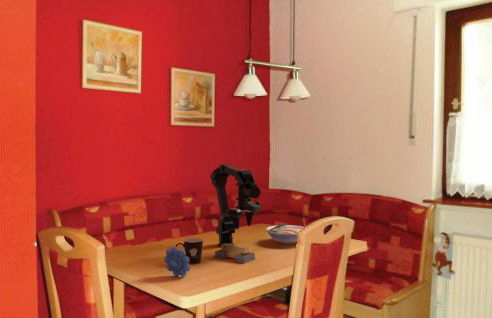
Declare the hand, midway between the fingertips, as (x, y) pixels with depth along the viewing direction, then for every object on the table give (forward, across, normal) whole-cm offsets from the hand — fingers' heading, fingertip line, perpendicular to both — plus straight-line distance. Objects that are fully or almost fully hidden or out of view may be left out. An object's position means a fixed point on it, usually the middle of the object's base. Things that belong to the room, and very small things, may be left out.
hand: (243, 227), depth 219 cm
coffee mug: (+12, -28, +9) cm, 32 cm away
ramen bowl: (+13, +30, -7) cm, 34 cm away
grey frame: (+12, -11, -4) cm, 17 cm away
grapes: (+12, -47, -2) cm, 49 cm away
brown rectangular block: (+11, -11, -4) cm, 16 cm away
